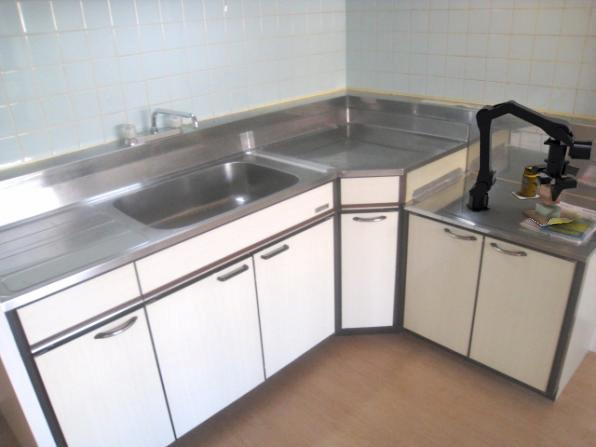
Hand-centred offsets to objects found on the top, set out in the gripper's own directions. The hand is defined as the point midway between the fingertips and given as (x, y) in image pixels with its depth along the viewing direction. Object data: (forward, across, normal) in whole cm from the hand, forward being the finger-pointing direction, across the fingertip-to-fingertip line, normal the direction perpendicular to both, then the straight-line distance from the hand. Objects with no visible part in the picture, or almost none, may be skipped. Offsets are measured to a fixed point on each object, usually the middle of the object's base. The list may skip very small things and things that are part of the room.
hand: (549, 198), depth 181 cm
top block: (+1, 0, 0) cm, 1 cm away
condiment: (+8, +22, -5) cm, 24 cm away
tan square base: (+8, 0, 0) cm, 8 cm away
